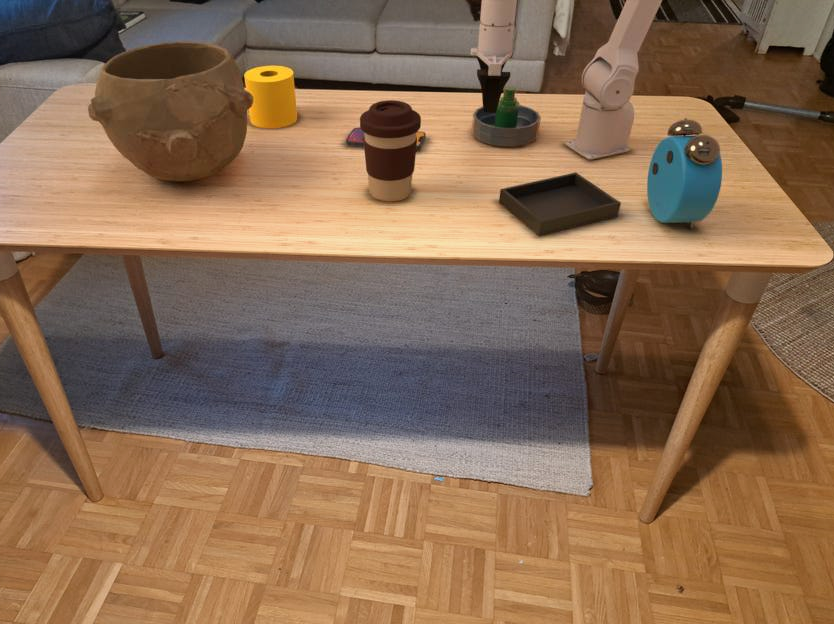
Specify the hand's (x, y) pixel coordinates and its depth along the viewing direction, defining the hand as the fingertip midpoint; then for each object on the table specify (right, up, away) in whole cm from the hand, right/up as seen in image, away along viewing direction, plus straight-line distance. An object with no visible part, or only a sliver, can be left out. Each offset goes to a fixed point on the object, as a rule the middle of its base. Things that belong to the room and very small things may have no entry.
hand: (489, 103), depth 123 cm
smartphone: (-18, -3, +13) cm, 23 cm away
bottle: (+6, -1, +14) cm, 15 cm away
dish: (+6, -1, +14) cm, 15 cm away
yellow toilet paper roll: (-42, +5, +23) cm, 48 cm away
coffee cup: (-18, -17, -3) cm, 25 cm away
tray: (+10, -21, -9) cm, 25 cm away
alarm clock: (+27, -23, -12) cm, 38 cm away
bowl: (-56, -11, +5) cm, 57 cm away
